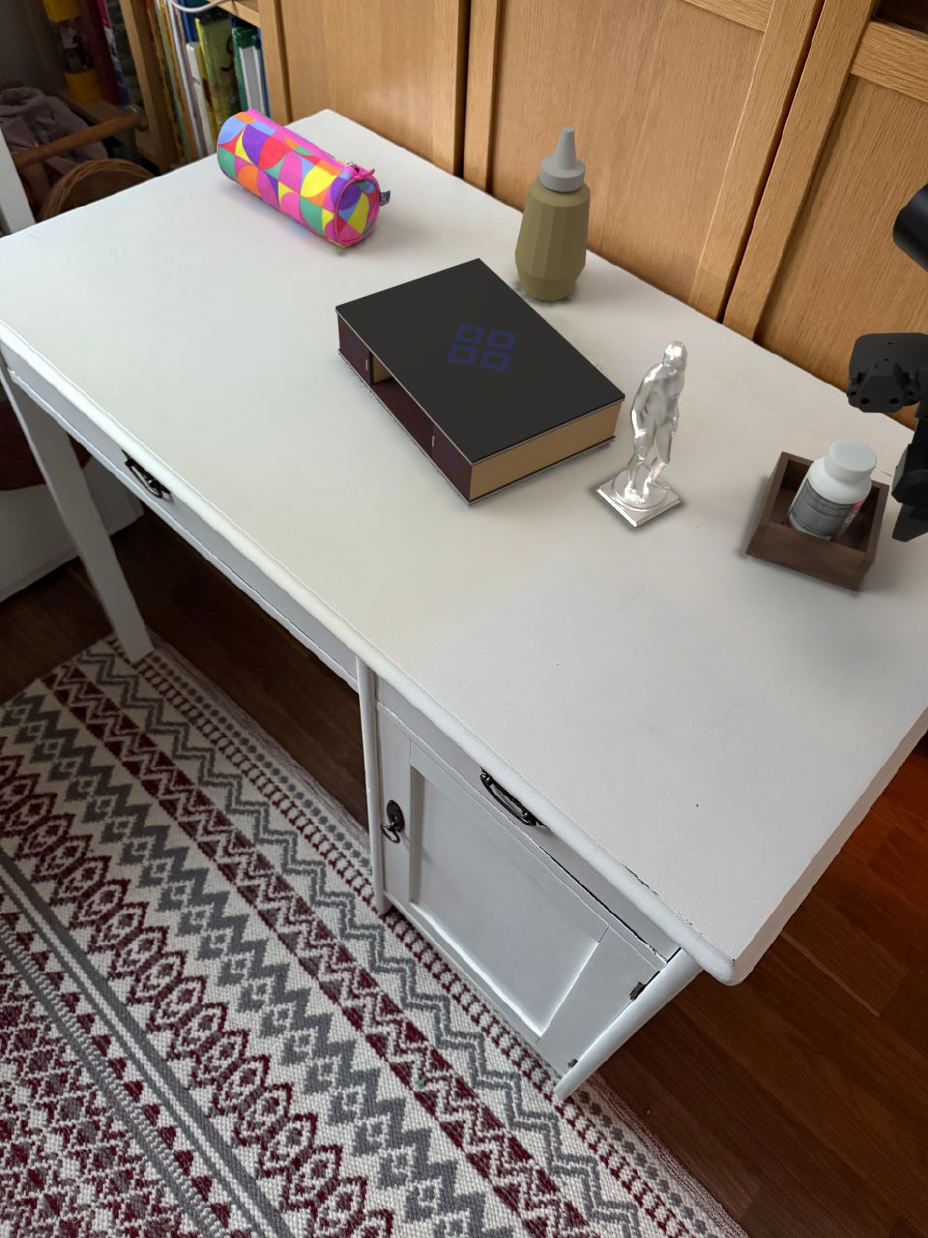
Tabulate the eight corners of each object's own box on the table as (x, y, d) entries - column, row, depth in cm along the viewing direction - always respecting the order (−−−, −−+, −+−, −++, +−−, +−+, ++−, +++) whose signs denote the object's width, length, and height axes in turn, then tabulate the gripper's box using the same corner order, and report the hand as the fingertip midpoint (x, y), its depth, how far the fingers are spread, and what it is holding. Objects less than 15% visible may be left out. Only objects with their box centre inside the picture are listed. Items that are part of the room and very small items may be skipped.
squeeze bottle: (497, 289, 104) (512, 131, 90) (535, 258, 108) (555, 100, 94) (557, 317, 102) (582, 159, 87) (593, 283, 106) (623, 126, 91)
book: (467, 513, 84) (471, 461, 79) (338, 359, 96) (334, 305, 90) (613, 446, 90) (626, 394, 85) (475, 310, 102) (479, 257, 96)
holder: (871, 515, 87) (890, 485, 83) (854, 591, 81) (873, 562, 78) (768, 481, 89) (782, 450, 85) (744, 553, 83) (758, 523, 80)
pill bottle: (840, 558, 83) (887, 482, 75) (781, 546, 83) (821, 469, 75) (840, 515, 86) (884, 438, 78) (783, 503, 86) (821, 426, 78)
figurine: (613, 540, 83) (657, 386, 68) (574, 490, 87) (608, 333, 72) (687, 512, 86) (744, 357, 71) (646, 464, 89) (693, 307, 74)
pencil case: (396, 229, 110) (395, 155, 103) (343, 263, 106) (338, 188, 98) (269, 163, 117) (260, 90, 110) (215, 192, 113) (201, 118, 106)
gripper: (902, 231, 66) (824, 400, 79) (863, 380, 56) (781, 547, 68) (1062, 271, 64) (956, 438, 76) (1054, 434, 53) (932, 597, 66)
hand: (905, 499), depth 72 cm, fingers open, 9 cm apart
